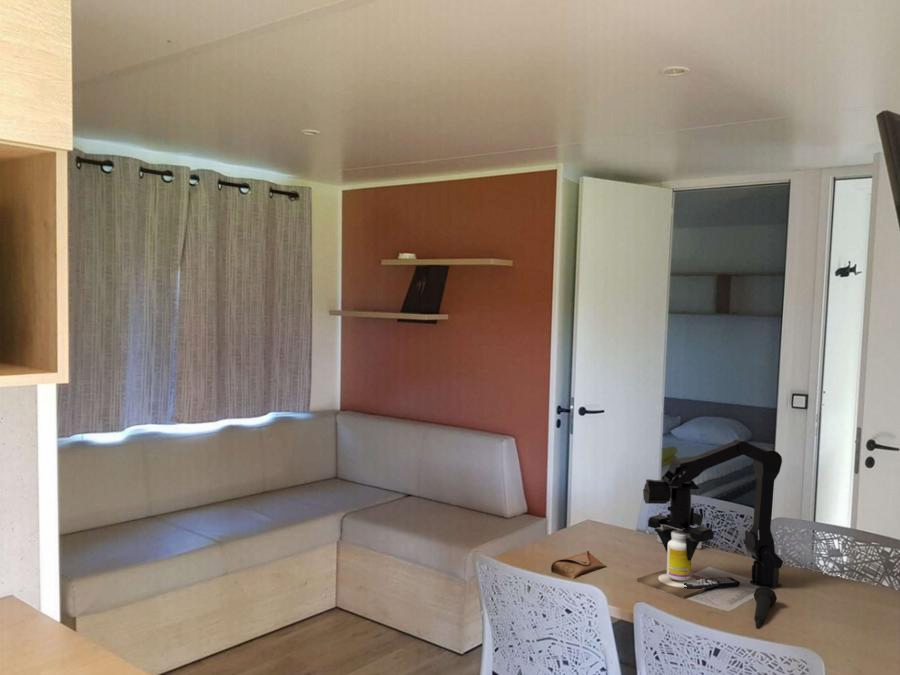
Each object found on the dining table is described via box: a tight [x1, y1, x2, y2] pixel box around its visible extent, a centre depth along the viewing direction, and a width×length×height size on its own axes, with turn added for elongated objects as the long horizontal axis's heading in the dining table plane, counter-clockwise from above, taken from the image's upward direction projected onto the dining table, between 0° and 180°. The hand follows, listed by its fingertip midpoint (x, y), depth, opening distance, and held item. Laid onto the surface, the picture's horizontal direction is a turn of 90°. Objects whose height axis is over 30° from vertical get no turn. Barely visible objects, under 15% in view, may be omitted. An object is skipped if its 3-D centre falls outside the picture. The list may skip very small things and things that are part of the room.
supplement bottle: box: [666, 531, 692, 580], centre depth 214 cm, size 7×7×13 cm
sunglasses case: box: [550, 550, 608, 580], centre depth 225 cm, size 18×7×7 cm
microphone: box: [753, 586, 778, 629], centre depth 193 cm, size 6×6×20 cm
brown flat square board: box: [636, 568, 707, 599], centre depth 214 cm, size 16×17×1 cm
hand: (679, 557), depth 214 cm, fingers closed on supplement bottle, 7 cm apart
